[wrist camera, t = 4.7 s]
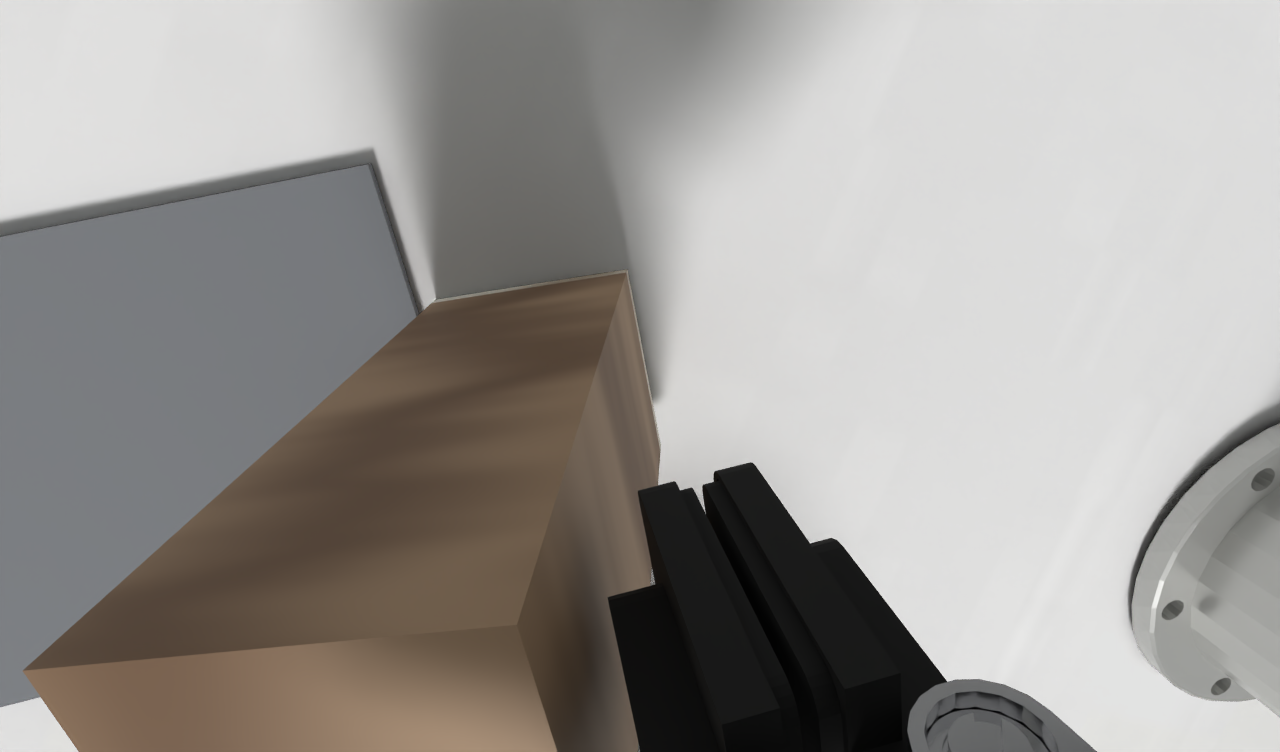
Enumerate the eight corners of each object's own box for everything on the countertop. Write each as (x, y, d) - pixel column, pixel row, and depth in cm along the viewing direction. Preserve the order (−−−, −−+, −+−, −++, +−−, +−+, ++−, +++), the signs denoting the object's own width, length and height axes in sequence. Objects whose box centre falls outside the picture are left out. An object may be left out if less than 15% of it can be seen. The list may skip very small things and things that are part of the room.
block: (627, 269, 17) (516, 624, 6) (660, 445, 19) (622, 956, 8) (435, 299, 18) (22, 670, 7) (486, 466, 20) (230, 967, 9)
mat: (371, 163, 16) (368, 164, 16) (500, 570, 21) (500, 578, 21) (-382, 311, 15) (-405, 317, 14) (-64, 714, 19) (-75, 726, 19)
